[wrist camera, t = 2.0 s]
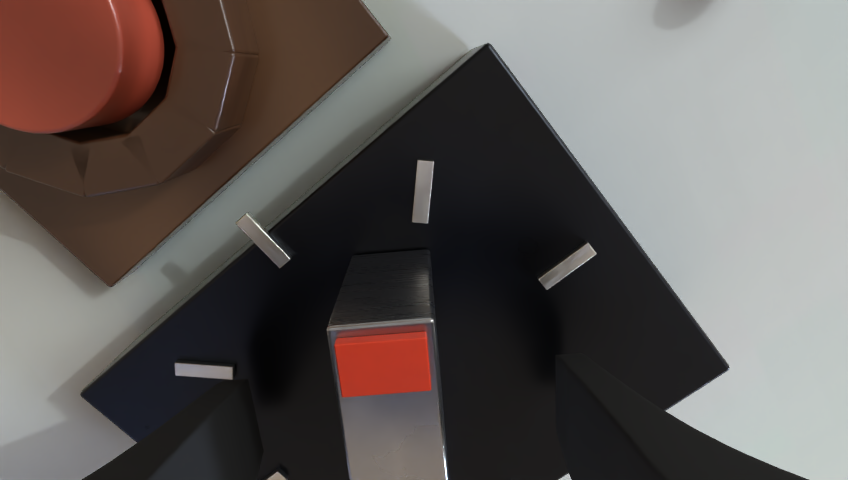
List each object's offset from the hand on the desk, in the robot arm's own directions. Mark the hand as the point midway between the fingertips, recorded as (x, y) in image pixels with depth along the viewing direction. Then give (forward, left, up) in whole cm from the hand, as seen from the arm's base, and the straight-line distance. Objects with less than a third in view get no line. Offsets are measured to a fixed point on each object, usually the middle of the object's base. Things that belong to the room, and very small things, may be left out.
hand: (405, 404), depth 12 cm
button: (0, +11, -1) cm, 11 cm away
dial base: (0, 0, -4) cm, 4 cm away
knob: (0, 0, -1) cm, 1 cm away
